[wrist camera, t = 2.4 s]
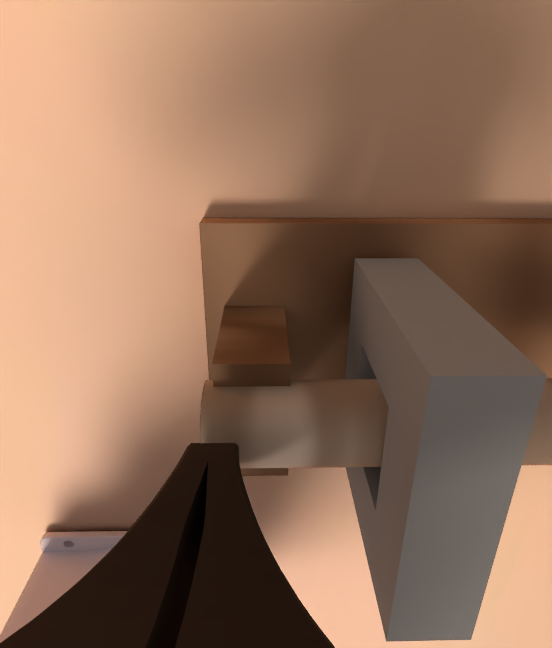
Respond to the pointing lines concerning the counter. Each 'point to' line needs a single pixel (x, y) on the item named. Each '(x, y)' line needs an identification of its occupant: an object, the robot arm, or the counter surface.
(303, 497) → the counter surface
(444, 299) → the collar
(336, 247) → the pipe stand
